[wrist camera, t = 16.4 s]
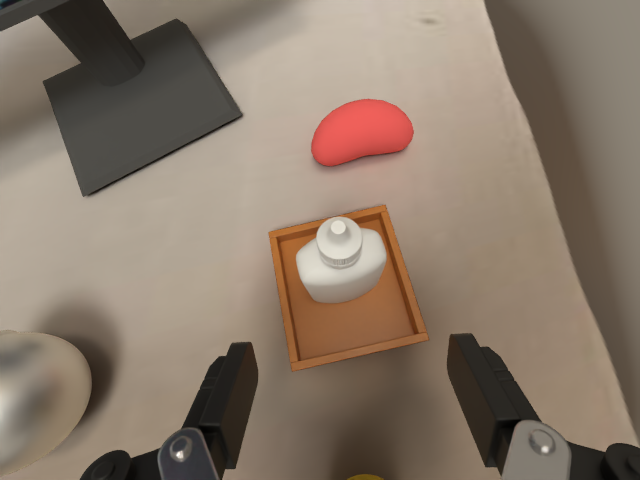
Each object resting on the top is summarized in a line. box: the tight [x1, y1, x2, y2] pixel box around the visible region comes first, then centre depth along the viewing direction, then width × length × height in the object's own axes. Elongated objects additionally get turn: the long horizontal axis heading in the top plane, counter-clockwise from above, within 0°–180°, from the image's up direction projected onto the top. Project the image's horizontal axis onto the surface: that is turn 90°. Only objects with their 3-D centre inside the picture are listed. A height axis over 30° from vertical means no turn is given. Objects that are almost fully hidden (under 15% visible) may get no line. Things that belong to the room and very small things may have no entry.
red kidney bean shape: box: [311, 99, 414, 166], centre depth 29 cm, size 5×9×6 cm
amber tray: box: [269, 205, 429, 372], centre depth 25 cm, size 11×10×2 cm
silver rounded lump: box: [0, 330, 92, 477], centre depth 21 cm, size 9×10×10 cm
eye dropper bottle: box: [296, 216, 387, 303], centre depth 20 cm, size 4×6×12 cm
